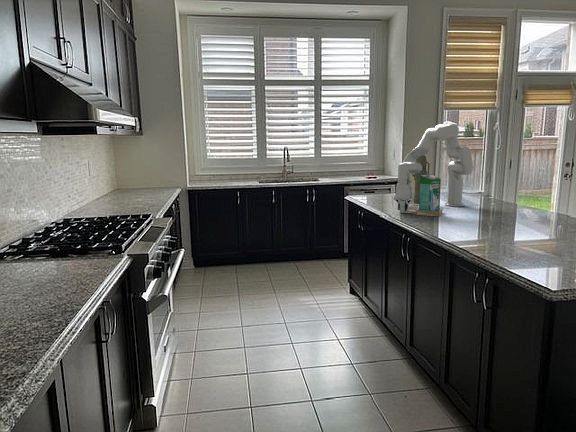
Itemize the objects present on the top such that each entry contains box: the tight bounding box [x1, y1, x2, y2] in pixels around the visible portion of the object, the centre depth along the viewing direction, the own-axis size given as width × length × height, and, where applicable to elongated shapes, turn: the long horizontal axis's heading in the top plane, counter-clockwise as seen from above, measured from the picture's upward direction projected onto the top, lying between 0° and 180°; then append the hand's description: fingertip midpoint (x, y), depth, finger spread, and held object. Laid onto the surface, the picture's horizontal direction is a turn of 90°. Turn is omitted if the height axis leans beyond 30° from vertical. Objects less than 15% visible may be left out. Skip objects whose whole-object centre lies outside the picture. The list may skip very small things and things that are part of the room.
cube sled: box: [397, 199, 419, 210], centre depth 298 cm, size 8×15×8 cm, turn 64°
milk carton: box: [419, 173, 442, 211], centre depth 280 cm, size 9×9×25 cm
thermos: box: [411, 154, 430, 204], centre depth 319 cm, size 9×12×35 cm
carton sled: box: [399, 199, 443, 217], centre depth 284 cm, size 14×25×8 cm, turn 64°
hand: (403, 209), depth 289 cm, fingers closed on carton sled, 3 cm apart
